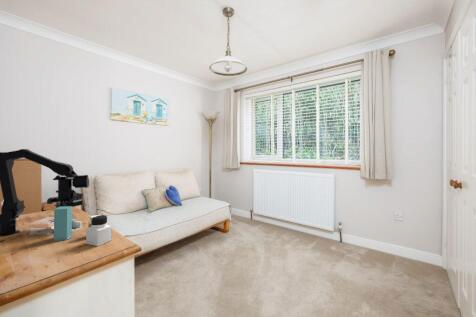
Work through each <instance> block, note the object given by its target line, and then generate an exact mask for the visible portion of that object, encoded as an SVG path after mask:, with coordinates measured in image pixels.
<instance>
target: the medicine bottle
mask: <svg viewBox="0 0 476 317" xmlns="http://www.w3.org/2000/svg"><path fill="white" fill-rule="evenodd" d="M97 215H98V216H94V217H92V219H91V226H92V227H89V228H88V227H87V228H85V229H86V231H85V232H86V233H85V236H86V237H85V244H86V245H90V246H94V247H100V246H102V245H104V243H105V244H106V243H109V242H111V241H112V233H113V232H112V230H113V229H112V228H113V227H112V225H109V224H108V216H107V215H104V214H97Z"/></svg>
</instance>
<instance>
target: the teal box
mask: <svg viewBox="0 0 476 317" xmlns="http://www.w3.org/2000/svg"><path fill="white" fill-rule="evenodd" d="M72 214H73V207H72V206H64V207H58V208H54V210H53V219H54V230H53V239H54V240H58V239H67V238H69V237H70V236H71V235H72V236H73V233H72V232H73V231H72ZM54 240H53V241H54Z"/></svg>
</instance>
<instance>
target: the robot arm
mask: <svg viewBox="0 0 476 317" xmlns="http://www.w3.org/2000/svg"><path fill="white" fill-rule="evenodd" d="M20 159H25V160H28V161H31V162H33V163H36V164H38V165H41V166H43V167H46V168H48V169H49V170H51V171H52V172H54V173H55V174H56V176H55V177H54V178H52V180H53V181H57V190H55V193H56V194H57V196H54V197H48V198H47V200H46V204H49V205H51V204H54V203H55V204H54V207H56V208H58V207H64V206H72V208H74V207H77V206H82V205H83V204H84V201H83V200H82V199H83V196H84V193H80V192H77V191H76V190H74V189H73V187H74V188H75V189H81V188H82V189H85V188H86V189H89V186H90V179H89V175H88V174H84V175H83V174H82V175H80V174H79V175H78V174H77V172H76V171H74V167H73V166H72V165H71V164H70V163H64V162H60V161H56V160H54V159H50V158H49V157H46V156H44V155H42V154H38V153H36V152H33V151H31V150H30V149H28V148H21V149H18V150H13V151H1V152H0V188H1V194H2V199H3V200H2V201H3V202H2V205H1V206H0V207H1V210H0V211H1V212H0V237H5V236H9V235H12V234H16V233H20V232H21V231H20V230H18V229H17V219H19V218H20V215H22V213H24V211H25V209H26V206H25V202H24V201H25V200H23V199H22V200H20V199H19V198H18V196H17V194H18V193H17V190H16V185H15V180H14V173H13V167H14V164H15V160H20ZM56 208H55V209H56Z"/></svg>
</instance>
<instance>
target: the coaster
mask: <svg viewBox="0 0 476 317" xmlns="http://www.w3.org/2000/svg"><path fill="white" fill-rule="evenodd" d="M72 238H73V234H72V235H71V236H70V237H69V238H67V239H58V240H54V238H53V241H54V242H64V241H68V240H70V239H72Z"/></svg>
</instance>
